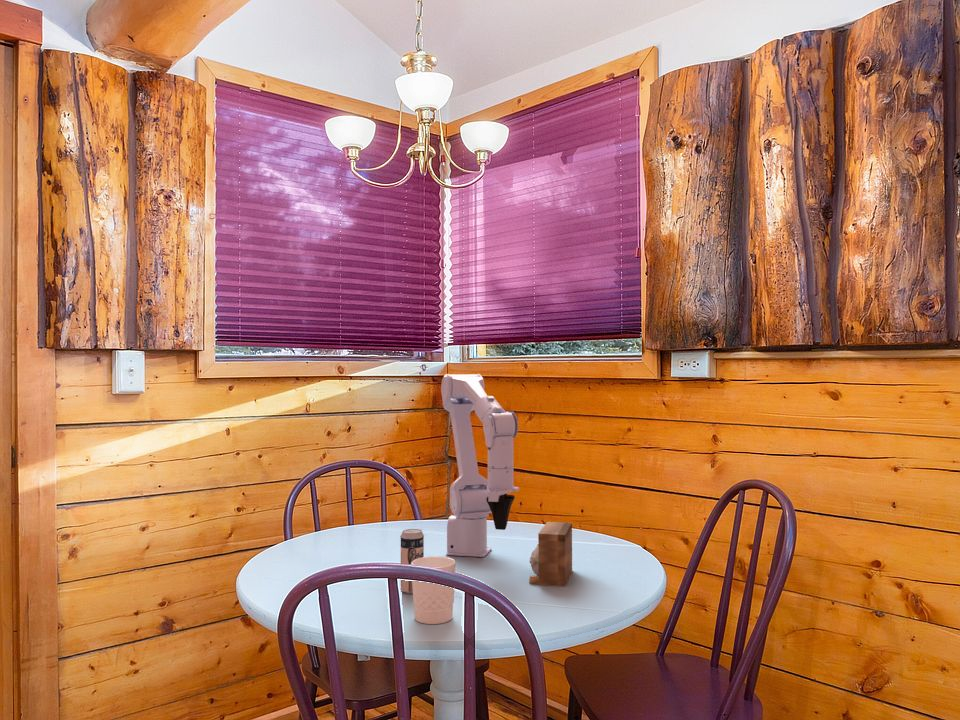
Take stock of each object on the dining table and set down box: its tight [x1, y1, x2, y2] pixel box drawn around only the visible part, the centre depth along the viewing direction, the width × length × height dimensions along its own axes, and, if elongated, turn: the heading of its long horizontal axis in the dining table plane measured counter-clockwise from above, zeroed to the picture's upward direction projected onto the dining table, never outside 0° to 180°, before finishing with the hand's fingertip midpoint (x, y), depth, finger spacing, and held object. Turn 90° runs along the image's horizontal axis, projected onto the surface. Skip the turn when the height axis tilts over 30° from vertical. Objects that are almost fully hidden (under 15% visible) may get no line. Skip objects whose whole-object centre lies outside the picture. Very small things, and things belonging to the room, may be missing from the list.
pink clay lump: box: [529, 544, 539, 576], centre depth 152 cm, size 6×7×7 cm
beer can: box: [399, 528, 425, 595], centre depth 143 cm, size 5×5×12 cm
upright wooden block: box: [529, 521, 573, 587], centre depth 152 cm, size 8×12×10 cm, turn 166°
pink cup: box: [411, 555, 456, 625], centre depth 127 cm, size 8×8×10 cm
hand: (500, 529), depth 156 cm, fingers closed
